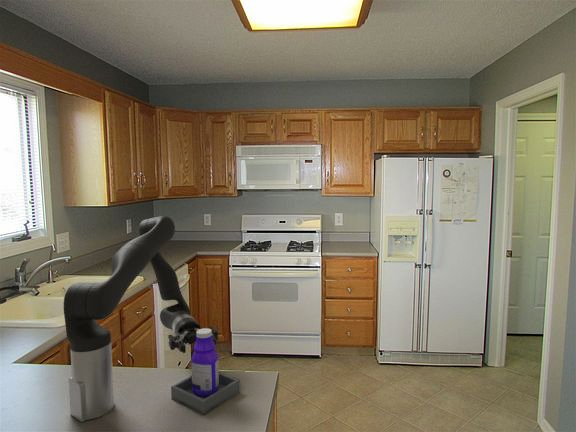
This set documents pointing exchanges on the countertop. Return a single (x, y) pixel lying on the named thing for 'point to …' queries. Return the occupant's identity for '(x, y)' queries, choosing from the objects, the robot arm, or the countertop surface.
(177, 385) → the tray
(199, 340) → the bottle
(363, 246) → the countertop surface
